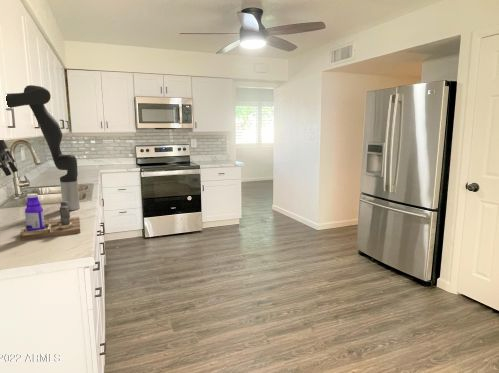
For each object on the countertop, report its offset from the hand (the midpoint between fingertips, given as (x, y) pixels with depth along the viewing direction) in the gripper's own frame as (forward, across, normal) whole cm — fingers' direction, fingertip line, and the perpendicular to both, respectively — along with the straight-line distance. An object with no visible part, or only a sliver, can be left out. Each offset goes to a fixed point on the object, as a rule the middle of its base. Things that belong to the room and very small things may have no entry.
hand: (12, 173), depth 161 cm
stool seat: (+31, -7, -5) cm, 32 cm away
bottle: (+27, -13, -1) cm, 31 cm away
